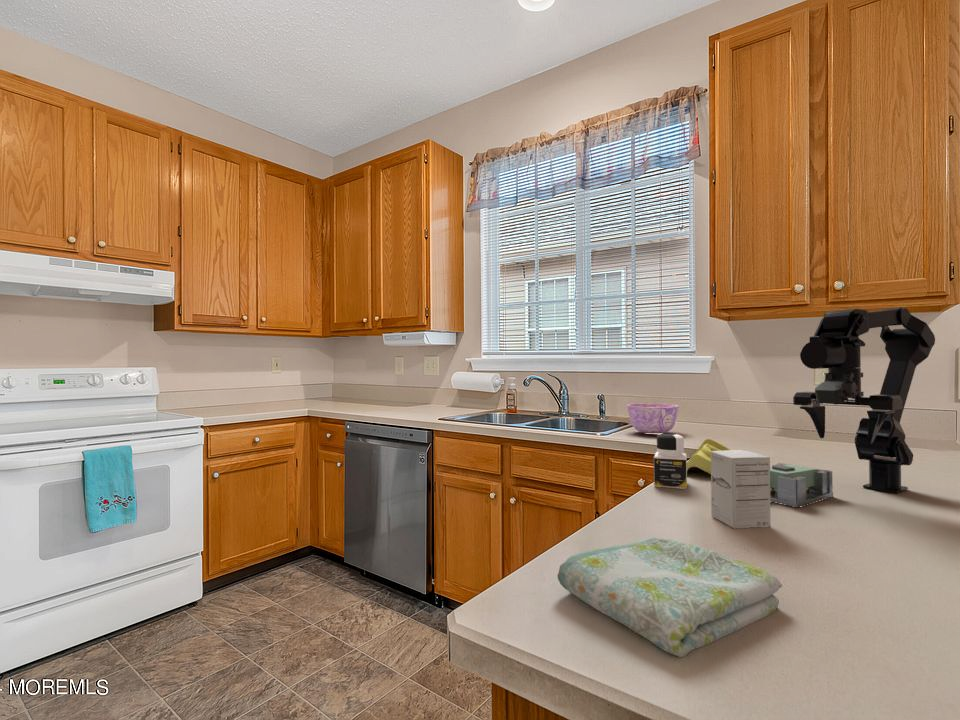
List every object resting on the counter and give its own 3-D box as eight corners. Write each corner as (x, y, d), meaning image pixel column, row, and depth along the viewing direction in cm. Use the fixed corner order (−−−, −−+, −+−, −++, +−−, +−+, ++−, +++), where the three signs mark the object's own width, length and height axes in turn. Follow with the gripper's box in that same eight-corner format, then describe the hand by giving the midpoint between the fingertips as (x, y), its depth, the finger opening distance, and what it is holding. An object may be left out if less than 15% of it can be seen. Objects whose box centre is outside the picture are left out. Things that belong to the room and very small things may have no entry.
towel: (788, 610, 62) (788, 568, 62) (675, 667, 51) (674, 615, 51) (662, 562, 78) (662, 527, 78) (554, 597, 66) (553, 557, 66)
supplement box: (710, 517, 98) (709, 450, 98) (747, 515, 99) (746, 449, 99) (732, 529, 91) (731, 457, 91) (772, 527, 91) (771, 456, 91)
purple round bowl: (679, 438, 196) (679, 407, 196) (624, 436, 203) (624, 406, 203) (679, 431, 214) (678, 403, 214) (629, 429, 222) (628, 402, 222)
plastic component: (729, 471, 128) (690, 450, 132) (715, 495, 130) (677, 475, 134) (738, 452, 144) (703, 435, 149) (726, 474, 146) (692, 456, 151)
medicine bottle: (654, 486, 122) (653, 436, 122) (655, 480, 128) (655, 432, 128) (686, 489, 119) (686, 437, 119) (686, 482, 126) (686, 433, 126)
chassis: (780, 486, 120) (780, 463, 120) (833, 496, 111) (832, 471, 111) (744, 496, 112) (743, 471, 112) (797, 508, 103) (797, 480, 103)
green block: (790, 479, 116) (789, 461, 116) (817, 485, 111) (816, 466, 111) (759, 484, 112) (759, 466, 112) (786, 490, 107) (785, 471, 107)
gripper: (779, 368, 115) (780, 439, 115) (879, 369, 99) (881, 450, 99) (805, 367, 121) (806, 434, 121) (903, 367, 105) (904, 444, 105)
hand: (845, 440), depth 111 cm, fingers open, 9 cm apart
